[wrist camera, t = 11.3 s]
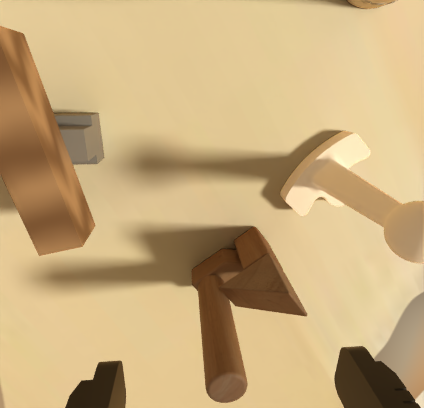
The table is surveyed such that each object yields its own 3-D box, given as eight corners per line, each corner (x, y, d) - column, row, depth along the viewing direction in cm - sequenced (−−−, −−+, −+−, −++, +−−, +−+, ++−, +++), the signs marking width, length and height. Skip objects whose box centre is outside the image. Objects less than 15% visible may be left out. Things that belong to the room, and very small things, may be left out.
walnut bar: (-25, 43, 25) (-66, 34, 21) (23, 33, 25) (-9, 23, 21) (57, 233, 32) (39, 255, 28) (95, 225, 32) (82, 246, 28)
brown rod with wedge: (268, 243, 42) (327, 349, 25) (206, 286, 43) (221, 412, 26) (254, 224, 40) (305, 322, 24) (190, 268, 42) (195, 390, 25)
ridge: (22, 113, 33) (-11, 119, 27) (98, 112, 34) (81, 118, 28) (32, 159, 35) (3, 173, 29) (104, 157, 35) (89, 171, 30)
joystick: (340, 123, 36) (505, 162, 18) (375, 164, 39) (553, 236, 20) (273, 189, 39) (357, 284, 20) (310, 224, 41) (416, 338, 22)
